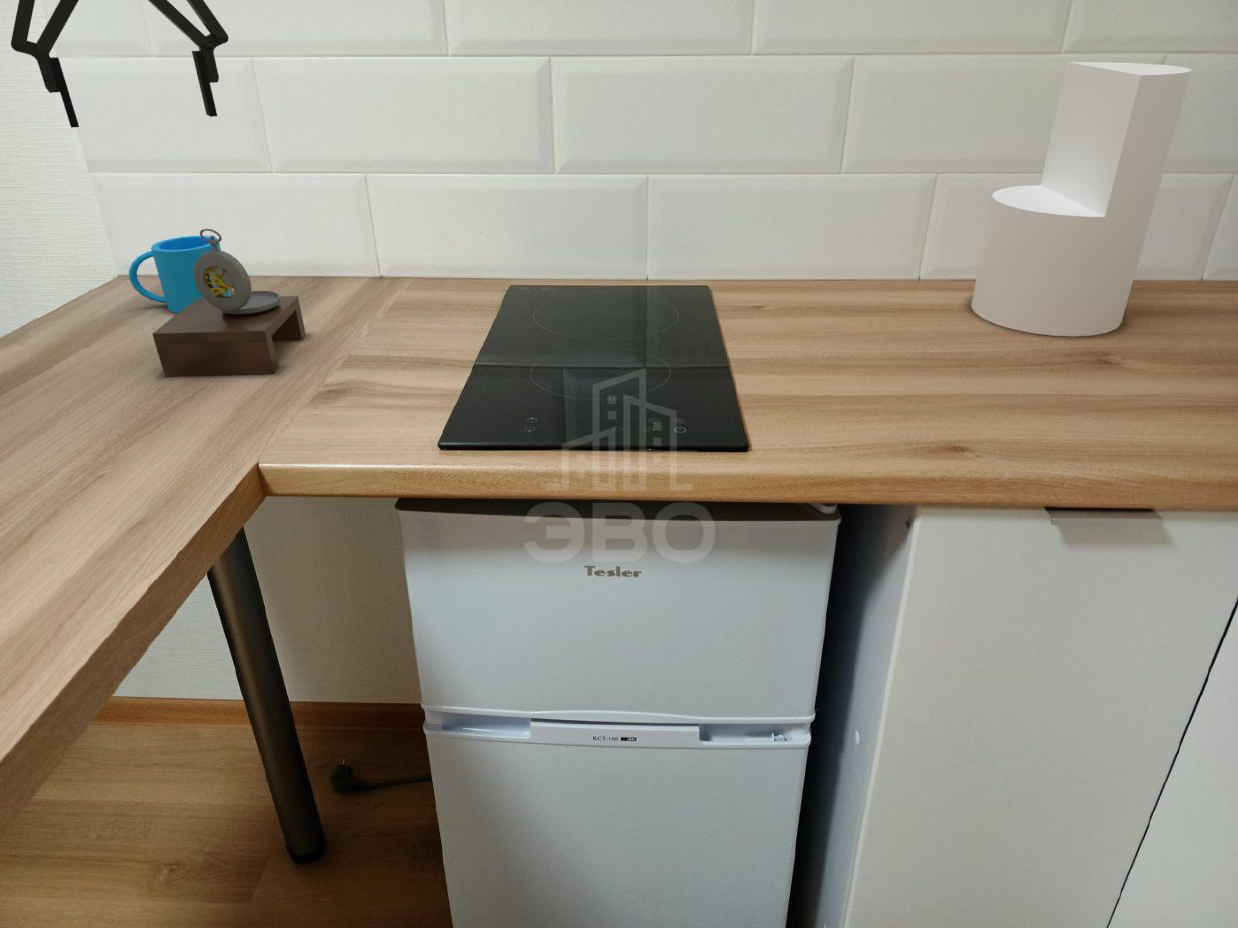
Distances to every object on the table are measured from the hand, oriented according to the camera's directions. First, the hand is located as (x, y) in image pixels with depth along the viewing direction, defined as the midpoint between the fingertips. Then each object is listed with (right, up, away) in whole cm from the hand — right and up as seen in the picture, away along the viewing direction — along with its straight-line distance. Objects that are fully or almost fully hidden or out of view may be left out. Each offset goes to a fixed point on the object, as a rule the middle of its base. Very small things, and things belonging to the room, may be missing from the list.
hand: (145, 121), depth 94 cm
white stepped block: (+105, -19, +14) cm, 108 cm away
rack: (+8, -25, +6) cm, 27 cm away
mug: (-7, -16, +22) cm, 29 cm away
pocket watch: (+9, -20, +4) cm, 23 cm away
